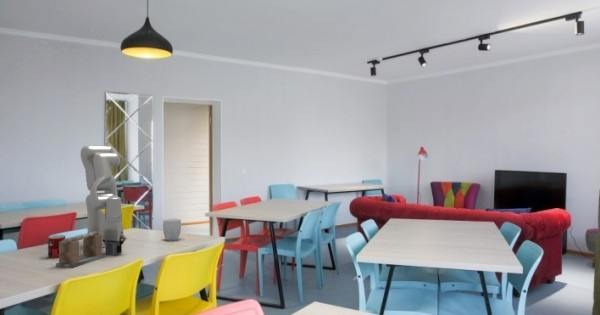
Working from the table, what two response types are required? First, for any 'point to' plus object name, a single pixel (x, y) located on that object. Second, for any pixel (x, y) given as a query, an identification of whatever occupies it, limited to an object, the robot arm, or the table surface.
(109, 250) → the dark grey block
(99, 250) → the rod stand
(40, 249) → the table surface
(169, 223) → the mug
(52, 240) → the canned food
